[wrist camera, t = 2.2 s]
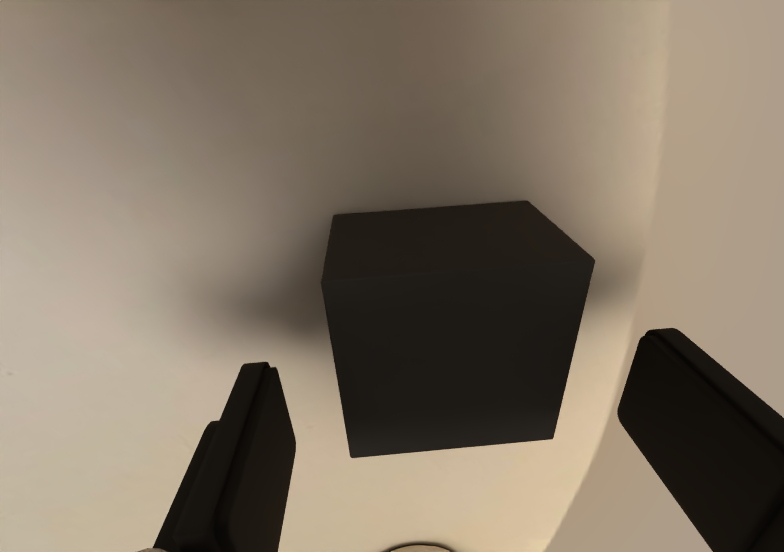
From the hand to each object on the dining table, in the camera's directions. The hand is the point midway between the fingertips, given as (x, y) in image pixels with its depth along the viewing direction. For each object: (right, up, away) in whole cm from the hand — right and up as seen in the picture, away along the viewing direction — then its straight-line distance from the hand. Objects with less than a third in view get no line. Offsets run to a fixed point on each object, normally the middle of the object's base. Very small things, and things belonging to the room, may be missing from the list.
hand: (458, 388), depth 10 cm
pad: (0, +2, +3) cm, 4 cm away
